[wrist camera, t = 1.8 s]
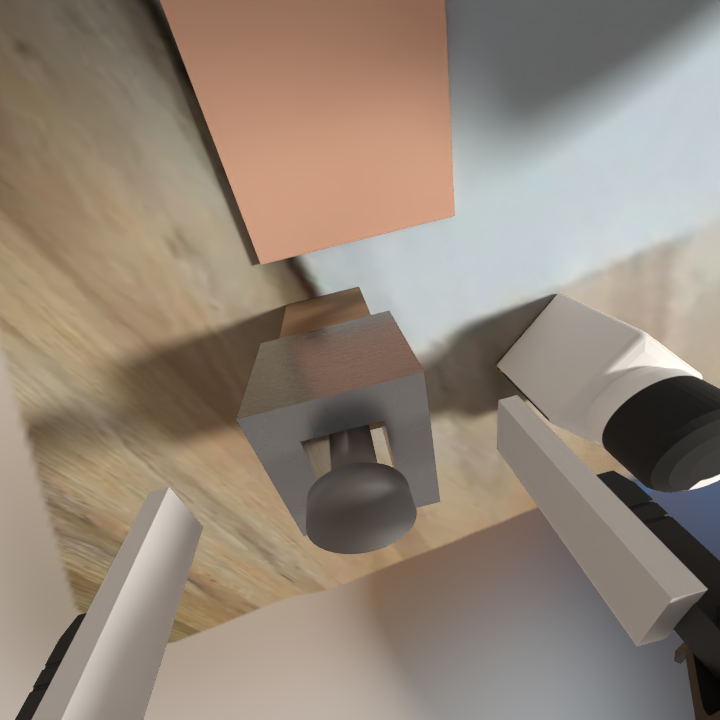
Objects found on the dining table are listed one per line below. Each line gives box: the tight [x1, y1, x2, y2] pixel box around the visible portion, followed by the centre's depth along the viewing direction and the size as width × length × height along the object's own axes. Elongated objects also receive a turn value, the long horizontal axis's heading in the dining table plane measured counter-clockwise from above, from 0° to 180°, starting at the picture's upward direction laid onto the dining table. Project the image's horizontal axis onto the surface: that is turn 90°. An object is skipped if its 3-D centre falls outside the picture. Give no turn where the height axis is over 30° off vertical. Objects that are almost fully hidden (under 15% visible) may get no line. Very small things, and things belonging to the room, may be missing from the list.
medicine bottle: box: [497, 294, 720, 492], centre depth 20 cm, size 7×7×12 cm
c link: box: [236, 311, 440, 536], centre depth 16 cm, size 8×7×6 cm
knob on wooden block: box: [279, 287, 417, 554], centre depth 17 cm, size 5×8×14 cm, turn 12°
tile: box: [160, 0, 455, 265], centre depth 15 cm, size 12×12×1 cm
